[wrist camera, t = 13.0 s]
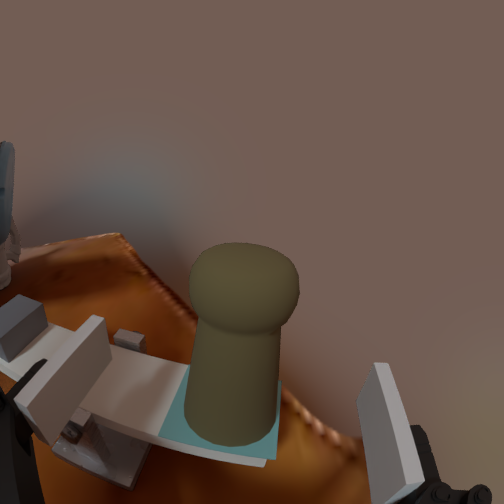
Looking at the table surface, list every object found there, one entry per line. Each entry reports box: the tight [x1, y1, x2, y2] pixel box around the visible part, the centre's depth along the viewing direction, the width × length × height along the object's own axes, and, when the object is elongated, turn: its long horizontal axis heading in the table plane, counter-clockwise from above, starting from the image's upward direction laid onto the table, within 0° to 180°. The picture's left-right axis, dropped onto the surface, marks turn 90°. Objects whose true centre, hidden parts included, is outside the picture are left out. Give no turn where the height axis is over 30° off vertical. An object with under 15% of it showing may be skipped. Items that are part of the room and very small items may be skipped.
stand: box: [51, 329, 153, 491], centre depth 19 cm, size 7×12×7 cm, turn 173°
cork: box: [184, 243, 300, 447], centre depth 15 cm, size 6×6×11 cm
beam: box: [0, 294, 282, 467], centre depth 18 cm, size 24×7×4 cm, turn 83°
